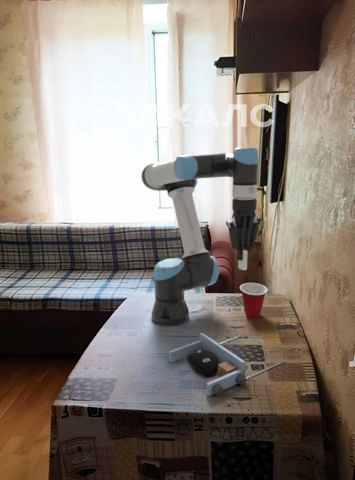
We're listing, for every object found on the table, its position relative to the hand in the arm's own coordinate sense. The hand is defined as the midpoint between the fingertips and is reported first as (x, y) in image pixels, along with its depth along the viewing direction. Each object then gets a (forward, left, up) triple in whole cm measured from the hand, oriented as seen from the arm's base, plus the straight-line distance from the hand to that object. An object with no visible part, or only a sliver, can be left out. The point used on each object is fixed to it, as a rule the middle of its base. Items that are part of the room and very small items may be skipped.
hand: (242, 268), depth 122 cm
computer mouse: (+4, -20, -27) cm, 34 cm away
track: (+7, -12, -27) cm, 30 cm away
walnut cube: (+13, -17, -27) cm, 35 cm away
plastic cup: (-13, +18, -27) cm, 35 cm away
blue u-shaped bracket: (+7, -20, -27) cm, 34 cm away
